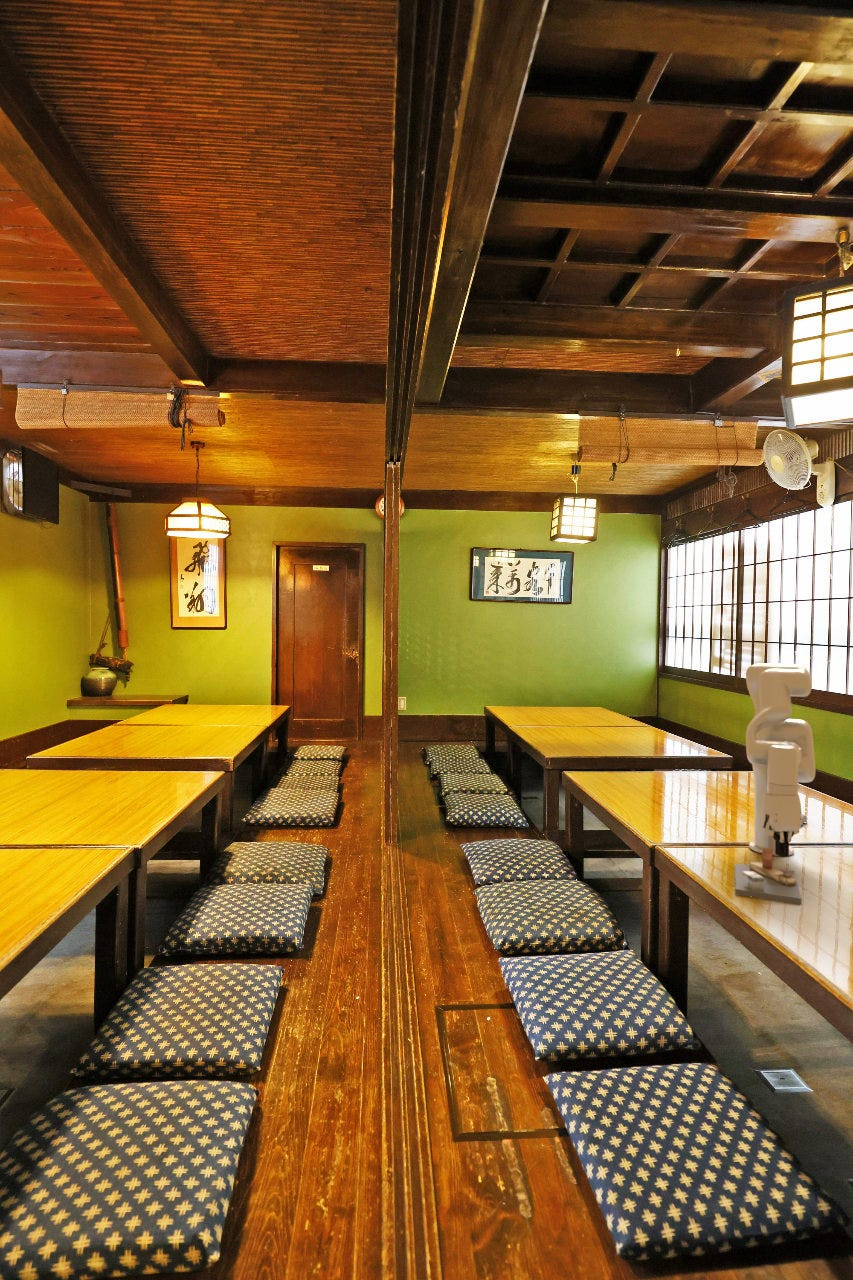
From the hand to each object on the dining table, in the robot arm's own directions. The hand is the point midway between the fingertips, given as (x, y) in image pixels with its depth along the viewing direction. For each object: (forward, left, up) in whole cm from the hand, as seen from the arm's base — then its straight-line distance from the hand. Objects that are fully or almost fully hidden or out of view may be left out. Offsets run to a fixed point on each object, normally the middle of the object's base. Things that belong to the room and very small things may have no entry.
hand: (782, 855), depth 188 cm
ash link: (+4, -3, -5) cm, 7 cm away
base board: (+8, -4, -6) cm, 11 cm away
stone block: (-67, +6, -7) cm, 68 cm away
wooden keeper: (+15, -8, -5) cm, 17 cm away
